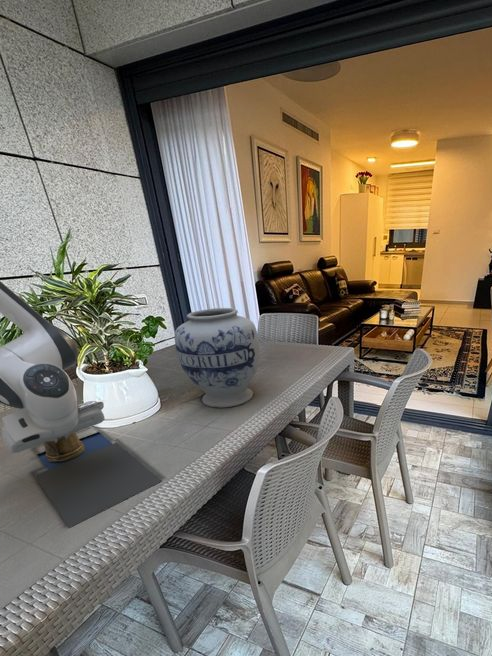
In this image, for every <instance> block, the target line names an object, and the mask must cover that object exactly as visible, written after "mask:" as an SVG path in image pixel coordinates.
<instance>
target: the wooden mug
mask: <svg viewBox="0 0 492 656" xmlns="http://www.w3.org/2000/svg"><path fill="white" fill-rule="evenodd" d="M79 439H80V438H79V437H78V435H77V433H76V432H74V433H71V434H70V435H69V436H68V439H66V440H63V441H60V442H57V443H55V442H54V441H49V442H46V443H43V446H44V450H45V451H46V457H47V460H48V461H49V462H64V461H68V460H71V459H73V458H76V457H78V456H79V455H80V454H82V453H83V452H84V450H85V447H84V445H83V443H82V442H81V441H80V440H79Z"/></svg>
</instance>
